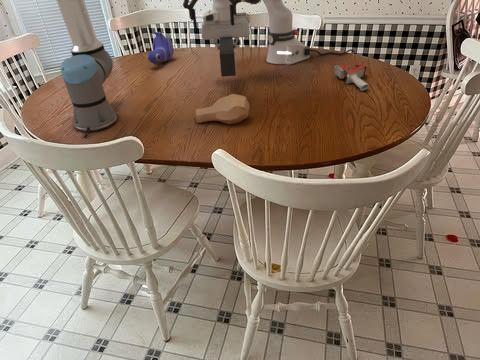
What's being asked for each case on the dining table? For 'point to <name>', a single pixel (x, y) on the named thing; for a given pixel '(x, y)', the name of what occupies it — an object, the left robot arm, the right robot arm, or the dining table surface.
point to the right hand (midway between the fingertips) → (226, 48)
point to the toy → (161, 49)
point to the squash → (225, 110)
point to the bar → (227, 57)
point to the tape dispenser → (353, 74)
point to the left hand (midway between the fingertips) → (214, 26)
